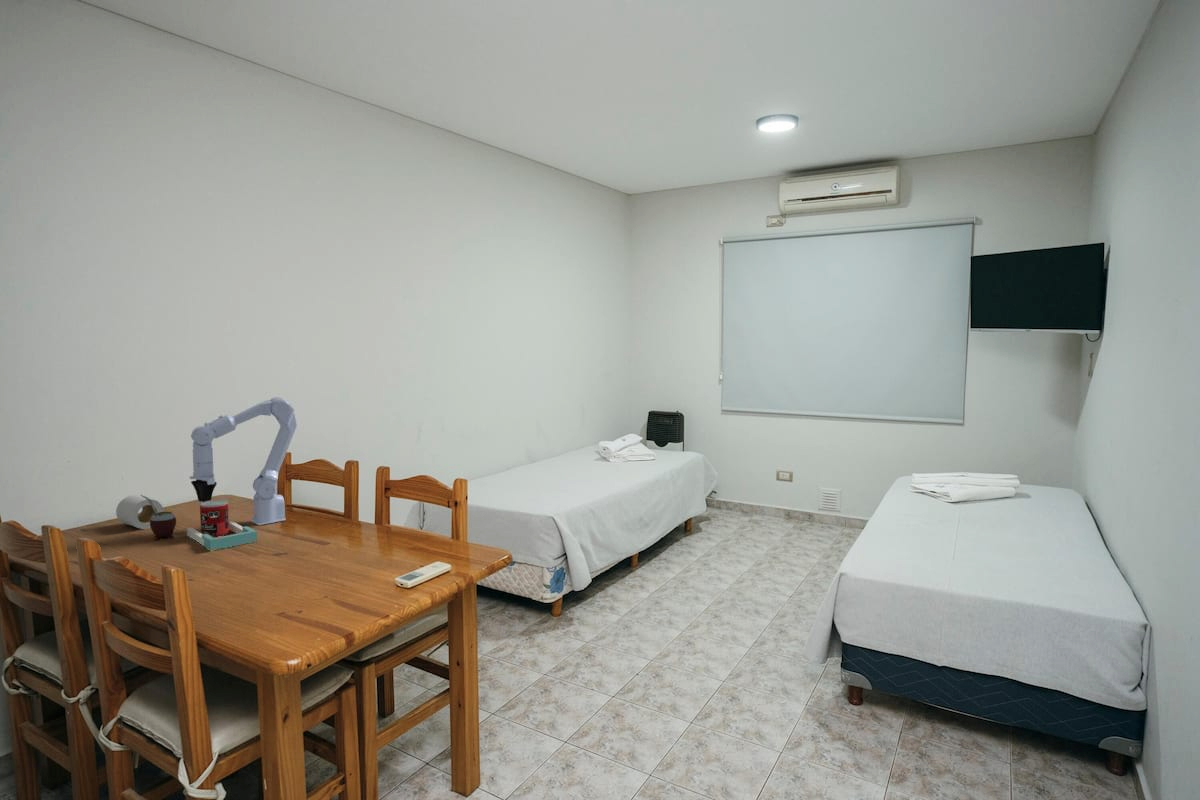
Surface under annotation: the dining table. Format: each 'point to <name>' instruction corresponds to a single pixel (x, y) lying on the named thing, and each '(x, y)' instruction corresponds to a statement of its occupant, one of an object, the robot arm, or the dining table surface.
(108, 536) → the dining table surface
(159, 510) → the toilet paper
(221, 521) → the canned food
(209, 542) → the teal white rectangular tray
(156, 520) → the mate gourd
